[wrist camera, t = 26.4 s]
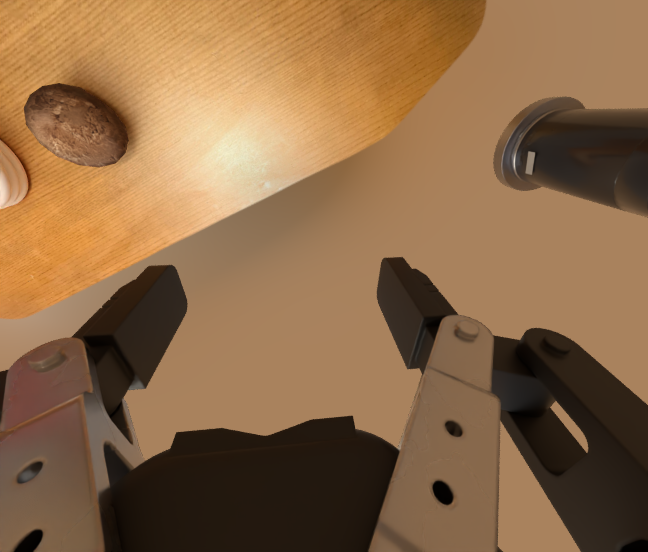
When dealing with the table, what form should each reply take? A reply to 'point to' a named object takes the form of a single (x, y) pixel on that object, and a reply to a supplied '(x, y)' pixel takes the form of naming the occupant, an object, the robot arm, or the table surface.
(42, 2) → the table surface
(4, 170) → the white round flat piece
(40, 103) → the mushroom
